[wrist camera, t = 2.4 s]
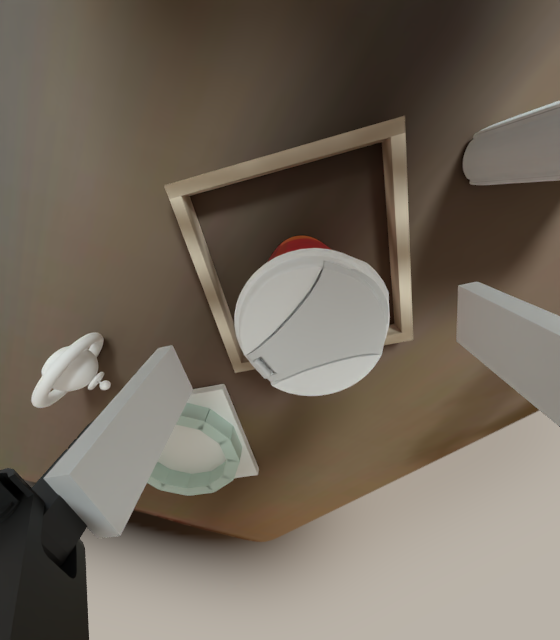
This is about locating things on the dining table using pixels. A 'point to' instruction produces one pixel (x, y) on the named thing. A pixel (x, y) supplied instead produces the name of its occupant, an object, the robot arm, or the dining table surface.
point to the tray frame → (383, 132)
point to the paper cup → (312, 318)
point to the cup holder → (204, 447)
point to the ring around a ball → (70, 371)
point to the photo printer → (516, 149)
